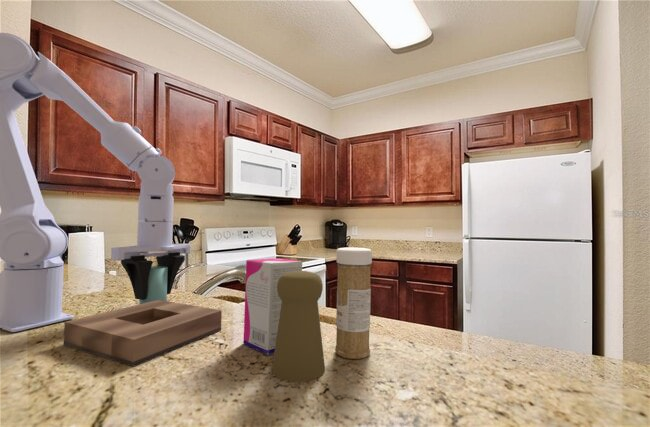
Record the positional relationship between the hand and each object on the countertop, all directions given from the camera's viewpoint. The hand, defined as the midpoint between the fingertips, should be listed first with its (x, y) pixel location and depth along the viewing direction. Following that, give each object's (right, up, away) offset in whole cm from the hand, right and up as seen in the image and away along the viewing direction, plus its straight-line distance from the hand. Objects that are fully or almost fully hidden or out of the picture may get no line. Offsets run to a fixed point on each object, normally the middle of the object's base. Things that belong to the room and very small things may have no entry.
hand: (153, 296), depth 59 cm
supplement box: (+24, -3, -15) cm, 28 cm away
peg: (0, -3, 0) cm, 3 cm away
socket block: (+6, -3, -13) cm, 14 cm away
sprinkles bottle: (+35, -3, -17) cm, 39 cm away
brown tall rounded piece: (+28, -3, -22) cm, 36 cm away
